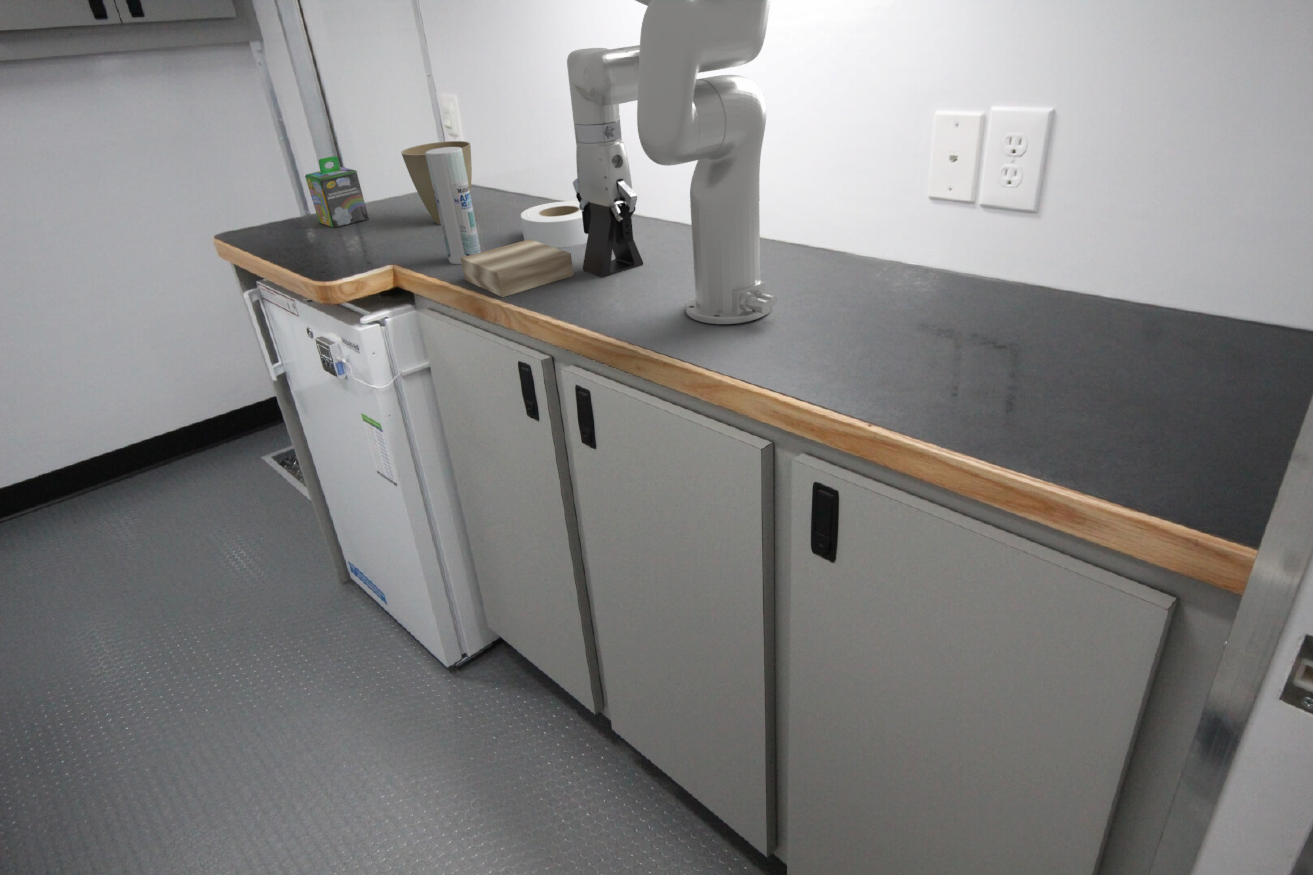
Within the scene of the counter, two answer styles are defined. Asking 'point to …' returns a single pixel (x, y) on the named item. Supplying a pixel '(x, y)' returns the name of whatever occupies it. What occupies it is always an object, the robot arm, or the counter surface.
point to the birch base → (517, 267)
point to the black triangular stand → (607, 245)
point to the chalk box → (336, 194)
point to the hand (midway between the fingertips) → (608, 237)
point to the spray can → (453, 202)
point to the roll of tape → (554, 224)
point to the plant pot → (421, 175)
